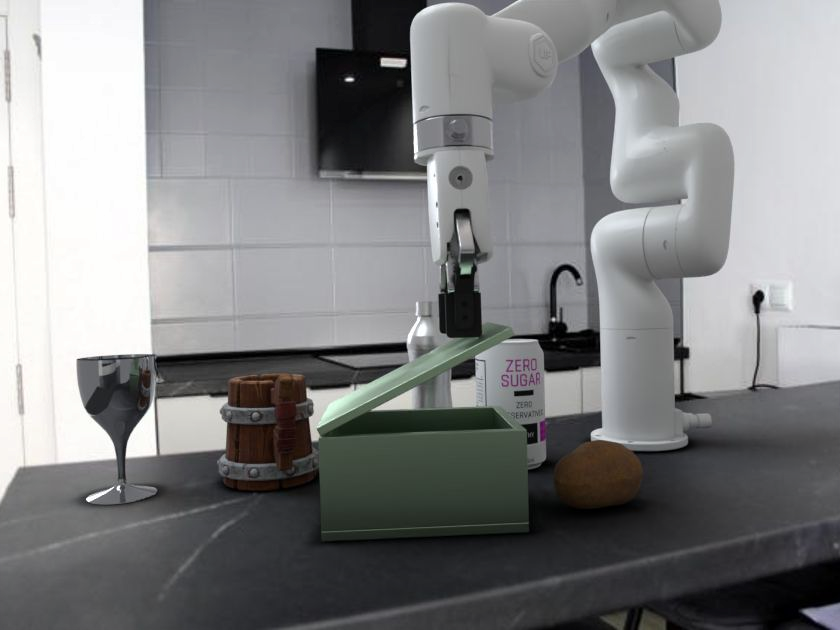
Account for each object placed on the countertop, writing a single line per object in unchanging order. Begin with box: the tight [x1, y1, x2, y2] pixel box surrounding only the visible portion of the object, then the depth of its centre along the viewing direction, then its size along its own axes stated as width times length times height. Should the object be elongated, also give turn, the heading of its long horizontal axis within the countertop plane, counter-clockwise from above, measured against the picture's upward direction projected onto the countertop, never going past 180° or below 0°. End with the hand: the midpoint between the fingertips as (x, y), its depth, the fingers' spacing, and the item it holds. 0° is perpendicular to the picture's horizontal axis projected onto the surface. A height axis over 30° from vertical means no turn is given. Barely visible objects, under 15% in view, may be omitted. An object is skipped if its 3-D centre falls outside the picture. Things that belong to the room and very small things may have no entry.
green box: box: [317, 406, 530, 543], centre depth 67 cm, size 18×14×9 cm
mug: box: [216, 373, 319, 492], centre depth 80 cm, size 12×14×15 cm
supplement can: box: [474, 338, 547, 470], centre depth 85 cm, size 8×8×15 cm
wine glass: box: [75, 353, 158, 506], centre depth 76 cm, size 8×8×15 cm
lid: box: [315, 293, 516, 436], centre depth 66 cm, size 19×14×5 cm
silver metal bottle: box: [406, 300, 454, 409], centre depth 94 cm, size 6×7×20 cm
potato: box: [553, 440, 644, 510], centre depth 68 cm, size 7×10×6 cm
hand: (459, 333), depth 67 cm, fingers closed on lid, 6 cm apart
